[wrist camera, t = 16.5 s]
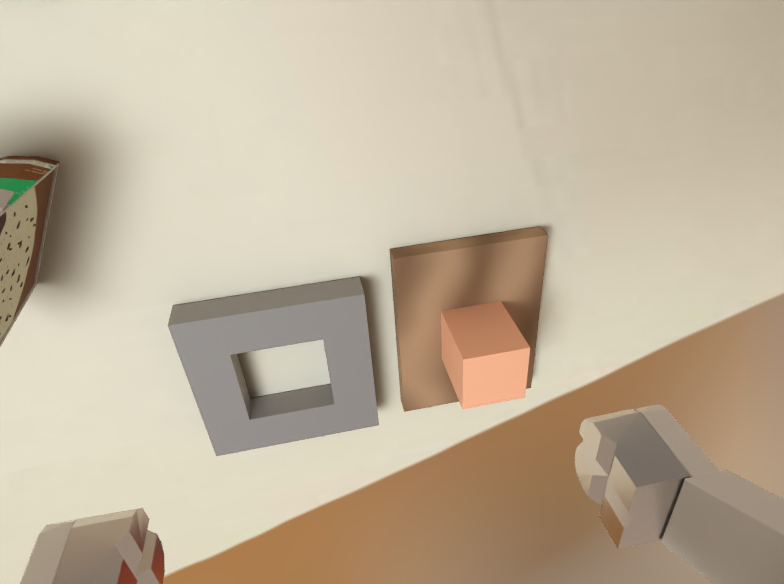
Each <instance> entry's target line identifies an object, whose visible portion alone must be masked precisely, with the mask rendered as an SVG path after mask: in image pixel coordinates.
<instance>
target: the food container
mask: <svg viewBox="0 0 784 584" xmlns="http://www.w3.org/2000/svg"><path fill="white" fill-rule="evenodd" d="M58 167H59V162H58V161H54V160H50V159H45V158H41V157H30V156H8V157H5V158H1V159H0V346H1V345H2V343H3V341H4V339H5V338H6V336H7V334H8V333H9V331H10V329H11V327H12V326H13V324H14V322H15V321H16V319H17V317H18V315H19V314H20V312H21V310H22V309H23V307H24V305H25V303H26V302H27V300H28V298H29V297H30V295H31V293H32V291H33V290H34V288H35V286H36V284H37V280H38V275H39V270H40V264H41V259H42V253H43V248H44V243H45V237H46V232H47V226H48V221H49V216H50V210H51V205H52V200H53V194H54V189H55V183H56V178H57V173H58Z"/></svg>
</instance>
